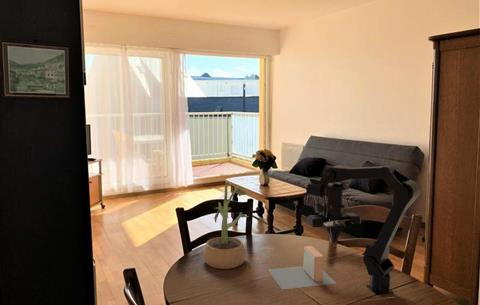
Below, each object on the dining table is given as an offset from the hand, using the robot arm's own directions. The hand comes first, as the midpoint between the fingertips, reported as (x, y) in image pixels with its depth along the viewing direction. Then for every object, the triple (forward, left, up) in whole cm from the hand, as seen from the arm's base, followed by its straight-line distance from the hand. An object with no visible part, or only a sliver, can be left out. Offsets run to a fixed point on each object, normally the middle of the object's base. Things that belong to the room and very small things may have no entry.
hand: (332, 242), depth 142 cm
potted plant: (+22, +35, -12) cm, 43 cm away
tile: (0, +8, -12) cm, 14 cm away
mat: (0, +12, -12) cm, 17 cm away
